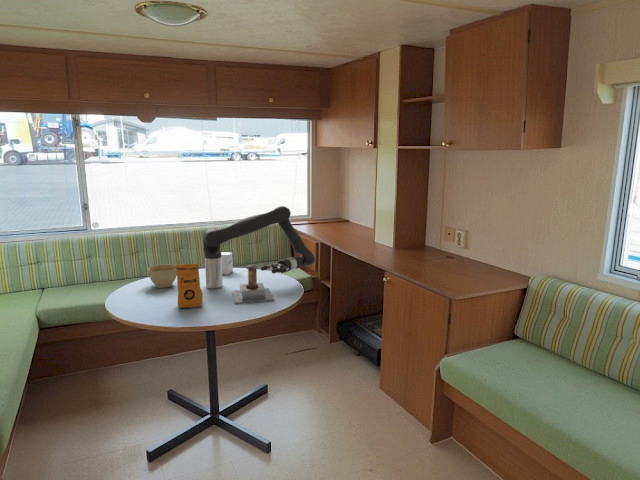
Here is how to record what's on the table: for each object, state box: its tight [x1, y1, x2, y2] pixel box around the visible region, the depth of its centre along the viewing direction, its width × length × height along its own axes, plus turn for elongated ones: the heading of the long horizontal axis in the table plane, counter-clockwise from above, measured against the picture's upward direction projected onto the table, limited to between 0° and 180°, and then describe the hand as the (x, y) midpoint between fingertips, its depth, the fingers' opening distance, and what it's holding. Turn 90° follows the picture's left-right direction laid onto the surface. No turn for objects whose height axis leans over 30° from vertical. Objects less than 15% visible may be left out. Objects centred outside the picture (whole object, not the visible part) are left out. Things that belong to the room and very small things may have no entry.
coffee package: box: [175, 263, 204, 309], centre depth 227 cm, size 10×12×22 cm
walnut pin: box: [246, 264, 259, 289], centre depth 242 cm, size 6×6×16 cm
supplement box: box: [221, 251, 234, 275], centre depth 289 cm, size 7×7×13 cm
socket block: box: [231, 282, 275, 305], centre depth 244 cm, size 20×20×6 cm
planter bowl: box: [147, 263, 177, 289], centre depth 261 cm, size 16×16×11 cm
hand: (266, 270), depth 250 cm, fingers open, 8 cm apart
